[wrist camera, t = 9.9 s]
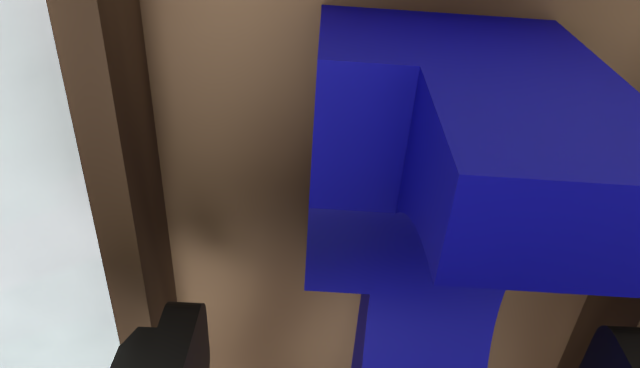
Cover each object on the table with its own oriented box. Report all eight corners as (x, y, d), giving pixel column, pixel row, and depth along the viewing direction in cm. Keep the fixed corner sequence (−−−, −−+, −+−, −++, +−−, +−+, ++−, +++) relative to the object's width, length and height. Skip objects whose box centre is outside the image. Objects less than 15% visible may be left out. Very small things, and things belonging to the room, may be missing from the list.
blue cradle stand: (322, 4, 11) (309, 164, 5) (555, 19, 11) (755, 193, 6) (297, 399, 17) (282, 639, 12) (442, 407, 17) (488, 650, 12)
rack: (1369, -57, 10) (1700, -21, 8) (871, 441, 19) (952, 534, 17) (97, -130, 10) (20, -117, 8) (176, 405, 19) (152, 494, 16)
